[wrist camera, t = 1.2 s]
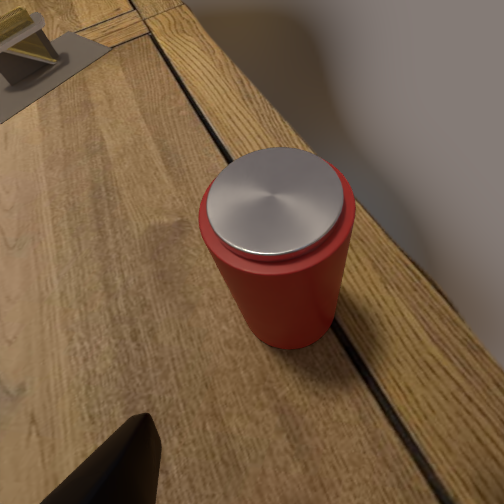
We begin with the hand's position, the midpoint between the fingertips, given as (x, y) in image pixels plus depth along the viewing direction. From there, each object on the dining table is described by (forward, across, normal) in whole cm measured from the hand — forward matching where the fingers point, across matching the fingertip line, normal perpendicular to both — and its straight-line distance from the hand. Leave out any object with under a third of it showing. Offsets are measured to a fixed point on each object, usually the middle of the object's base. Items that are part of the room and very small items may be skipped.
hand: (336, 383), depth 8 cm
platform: (+44, +25, -25) cm, 57 cm away
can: (+14, 0, +4) cm, 15 cm away
